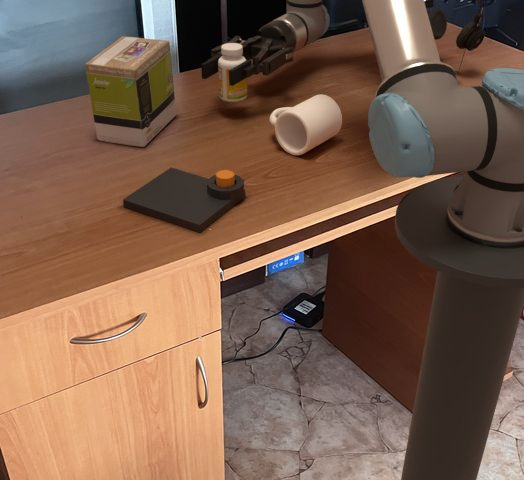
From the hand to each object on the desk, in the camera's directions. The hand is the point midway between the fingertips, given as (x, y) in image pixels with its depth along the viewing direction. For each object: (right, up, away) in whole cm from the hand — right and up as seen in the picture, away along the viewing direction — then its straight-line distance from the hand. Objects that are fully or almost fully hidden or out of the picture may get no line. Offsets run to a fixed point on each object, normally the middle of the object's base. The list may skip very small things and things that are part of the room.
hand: (217, 74), depth 145 cm
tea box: (-15, -9, +5) cm, 18 cm away
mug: (+15, -12, 0) cm, 20 cm away
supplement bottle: (+3, -2, +7) cm, 8 cm away
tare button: (+2, -24, -18) cm, 30 cm away
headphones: (+47, +10, +27) cm, 55 cm away
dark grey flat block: (-4, -27, -17) cm, 32 cm away
